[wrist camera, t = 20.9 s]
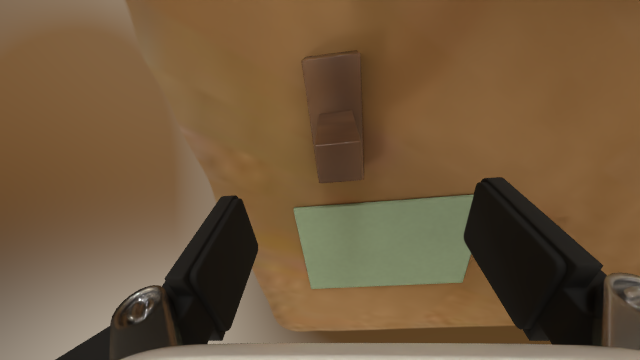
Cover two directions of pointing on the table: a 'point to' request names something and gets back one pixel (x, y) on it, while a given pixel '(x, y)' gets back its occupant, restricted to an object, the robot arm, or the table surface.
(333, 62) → the brown t-shaped block
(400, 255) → the desk pad
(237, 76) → the table surface
